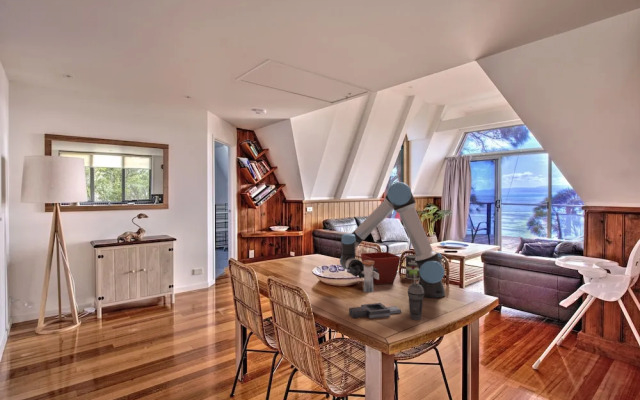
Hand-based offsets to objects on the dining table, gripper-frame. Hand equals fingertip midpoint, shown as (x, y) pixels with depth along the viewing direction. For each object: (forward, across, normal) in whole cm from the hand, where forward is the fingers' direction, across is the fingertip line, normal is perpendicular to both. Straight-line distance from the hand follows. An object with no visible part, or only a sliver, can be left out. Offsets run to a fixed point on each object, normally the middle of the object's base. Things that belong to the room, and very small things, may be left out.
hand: (373, 277), depth 153 cm
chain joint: (-2, -2, -18) cm, 18 cm away
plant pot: (-53, -28, -18) cm, 63 cm away
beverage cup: (+8, -17, -18) cm, 26 cm away
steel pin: (-5, 0, -8) cm, 10 cm away
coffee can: (-56, -53, -18) cm, 79 cm away
